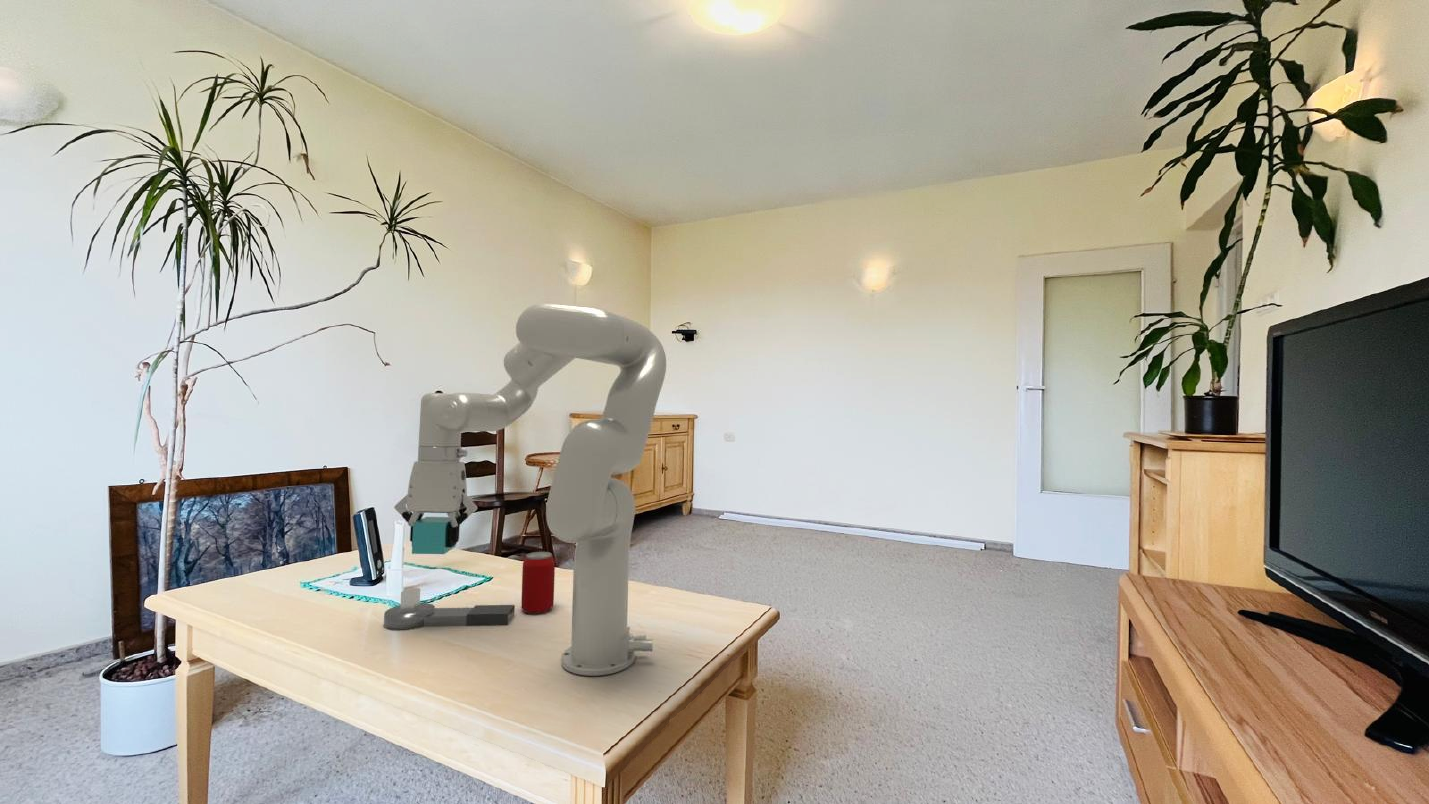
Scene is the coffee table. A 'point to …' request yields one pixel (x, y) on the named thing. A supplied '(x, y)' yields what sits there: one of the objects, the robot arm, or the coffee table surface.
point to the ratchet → (442, 614)
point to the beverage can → (538, 582)
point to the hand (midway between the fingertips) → (434, 544)
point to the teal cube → (431, 536)
